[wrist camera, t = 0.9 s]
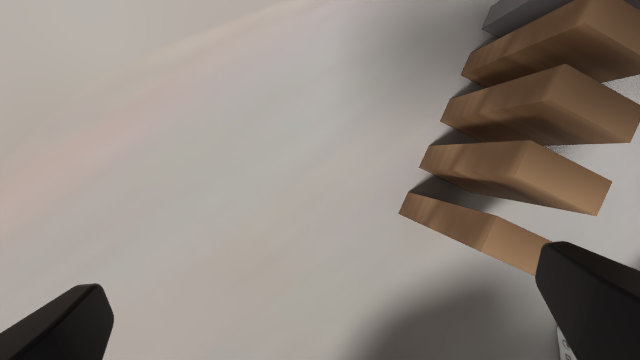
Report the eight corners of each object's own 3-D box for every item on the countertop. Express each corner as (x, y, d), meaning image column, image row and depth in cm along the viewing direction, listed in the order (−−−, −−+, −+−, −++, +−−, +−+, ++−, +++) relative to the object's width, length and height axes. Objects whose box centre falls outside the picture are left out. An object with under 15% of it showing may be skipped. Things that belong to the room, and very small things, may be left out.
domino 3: (492, 147, 26) (630, 142, 16) (439, 121, 25) (549, 99, 15) (502, 126, 26) (646, 108, 16) (449, 99, 25) (565, 63, 15)
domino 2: (471, 192, 26) (596, 216, 16) (419, 167, 25) (514, 176, 15) (481, 171, 26) (612, 181, 16) (429, 145, 25) (531, 140, 15)
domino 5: (533, 57, 26) (696, -4, 16) (481, 28, 25) (618, -54, 15) (542, 35, 26) (712, -39, 16) (491, 6, 25) (635, -90, 15)
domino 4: (512, 102, 26) (663, 69, 16) (460, 74, 25) (584, 23, 15) (522, 80, 26) (679, 34, 16) (470, 52, 25) (600, -13, 15)
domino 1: (451, 237, 26) (563, 288, 16) (398, 213, 25) (480, 251, 15) (461, 216, 26) (579, 254, 16) (408, 192, 25) (496, 215, 15)
